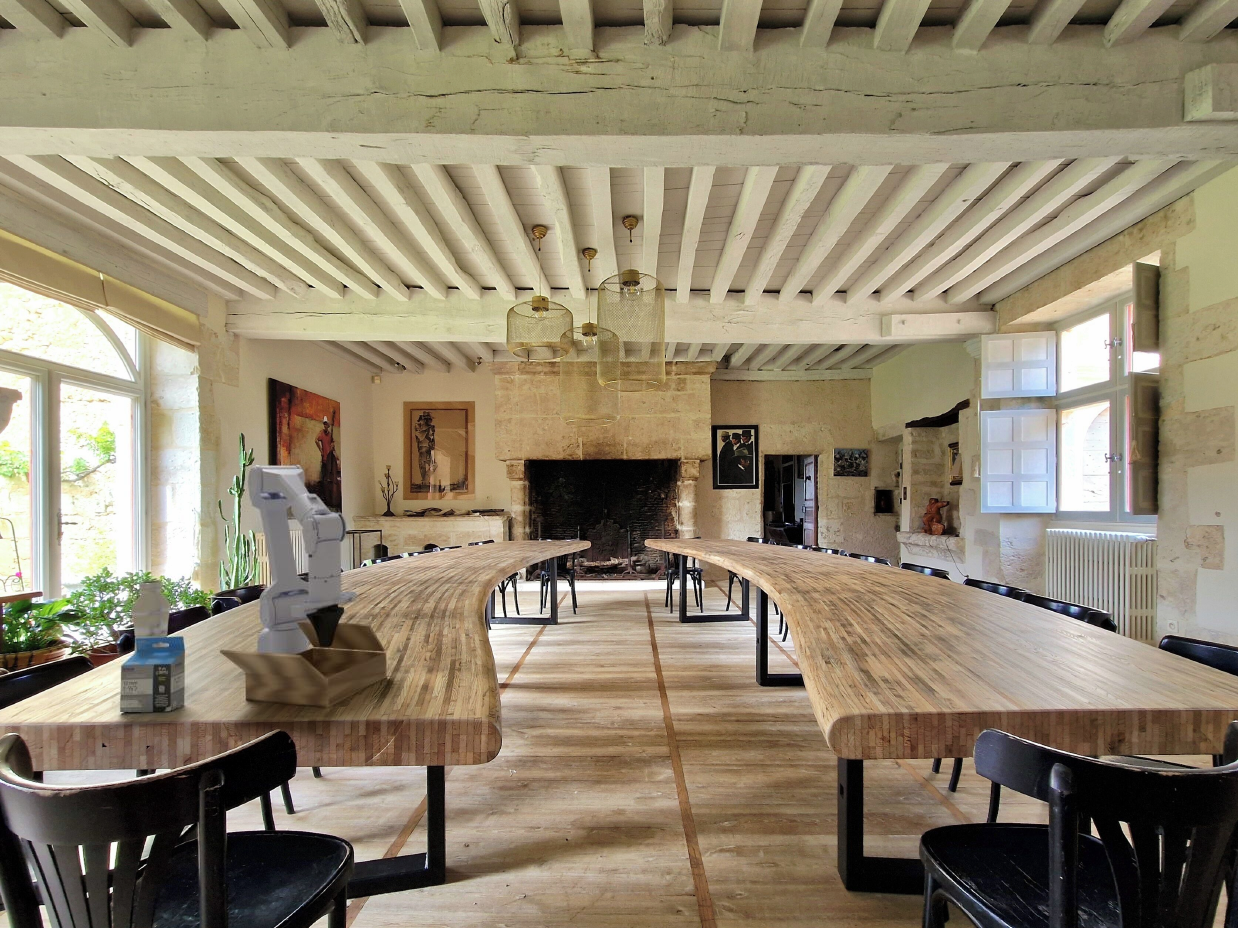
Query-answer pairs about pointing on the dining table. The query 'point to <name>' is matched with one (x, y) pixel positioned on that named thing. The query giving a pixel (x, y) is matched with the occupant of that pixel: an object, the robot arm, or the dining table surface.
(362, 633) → the flap far
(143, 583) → the plastic bottle
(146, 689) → the label tape box
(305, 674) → the flap near
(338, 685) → the carton
